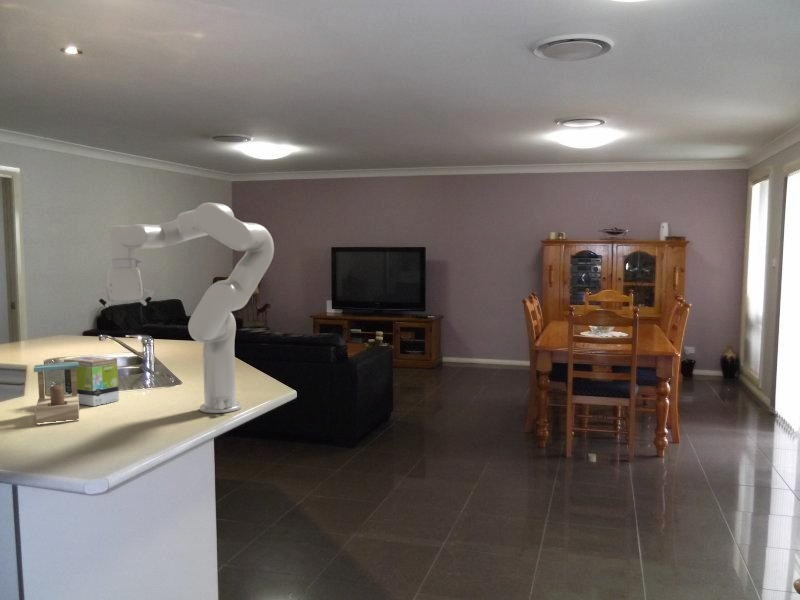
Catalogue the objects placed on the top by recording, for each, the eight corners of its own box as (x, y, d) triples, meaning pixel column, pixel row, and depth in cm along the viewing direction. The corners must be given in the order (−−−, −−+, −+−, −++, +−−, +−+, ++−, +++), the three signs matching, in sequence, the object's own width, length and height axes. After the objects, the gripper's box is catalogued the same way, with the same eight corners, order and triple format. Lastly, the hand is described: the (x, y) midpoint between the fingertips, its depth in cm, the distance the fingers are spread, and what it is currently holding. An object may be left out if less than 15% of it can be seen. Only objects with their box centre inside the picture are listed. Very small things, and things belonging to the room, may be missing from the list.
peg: (65, 418, 199) (63, 385, 198) (65, 420, 196) (63, 387, 195) (52, 419, 198) (50, 386, 197) (51, 422, 194) (49, 388, 194)
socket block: (80, 420, 196) (77, 369, 195) (34, 425, 191) (31, 373, 189) (80, 409, 210) (78, 361, 209) (37, 413, 205) (34, 365, 204)
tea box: (120, 400, 221) (118, 357, 220) (93, 407, 213) (90, 361, 211) (92, 396, 229) (89, 354, 228) (64, 402, 220) (62, 358, 219)
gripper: (151, 263, 216) (154, 316, 218) (93, 265, 209) (96, 319, 210) (154, 264, 210) (156, 318, 211) (93, 265, 202) (96, 321, 203)
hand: (126, 318), depth 211 cm, fingers open, 9 cm apart
